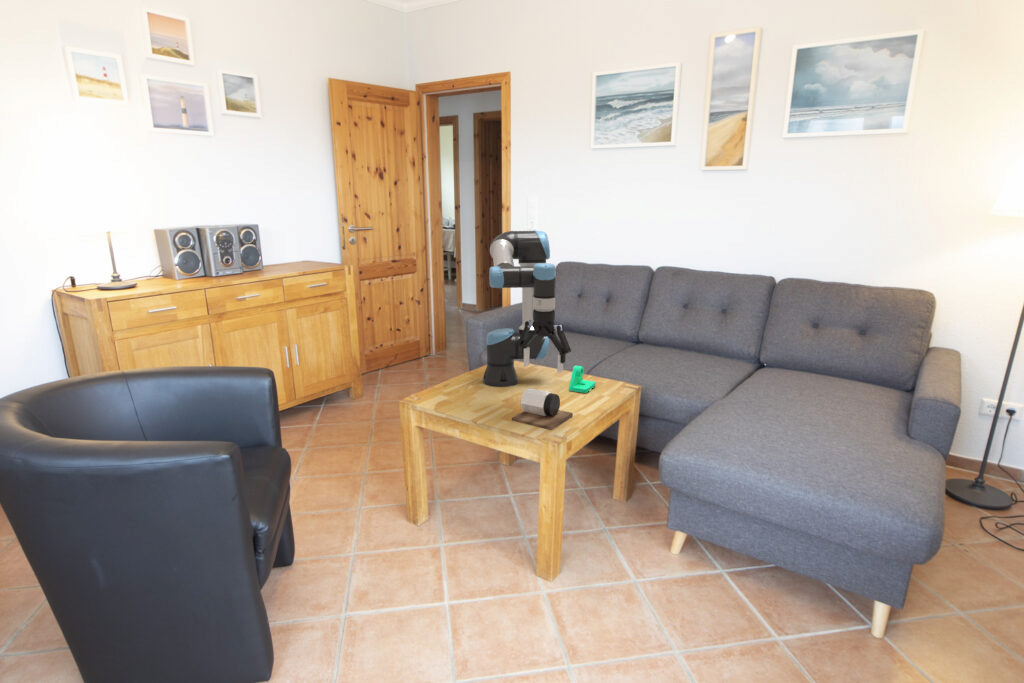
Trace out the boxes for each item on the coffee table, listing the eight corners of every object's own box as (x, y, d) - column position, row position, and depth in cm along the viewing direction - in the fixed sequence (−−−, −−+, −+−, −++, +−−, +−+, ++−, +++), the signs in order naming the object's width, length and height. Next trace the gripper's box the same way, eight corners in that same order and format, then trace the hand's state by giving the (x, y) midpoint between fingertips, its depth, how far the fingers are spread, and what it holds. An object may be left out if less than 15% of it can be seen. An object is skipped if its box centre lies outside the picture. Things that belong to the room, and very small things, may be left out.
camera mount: (586, 395, 229) (586, 371, 226) (568, 392, 232) (569, 369, 230) (596, 387, 239) (596, 364, 237) (579, 385, 242) (580, 362, 240)
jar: (518, 399, 199) (547, 405, 193) (528, 383, 204) (556, 388, 198) (524, 416, 205) (553, 422, 198) (534, 400, 210) (562, 405, 203)
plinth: (511, 424, 198) (511, 417, 197) (534, 410, 211) (534, 404, 211) (551, 434, 190) (551, 427, 189) (572, 419, 203) (572, 412, 202)
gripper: (507, 307, 194) (507, 365, 200) (571, 315, 181) (570, 377, 187) (518, 303, 200) (518, 360, 206) (581, 311, 187) (579, 371, 193)
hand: (543, 368), depth 196 cm, fingers open, 13 cm apart
